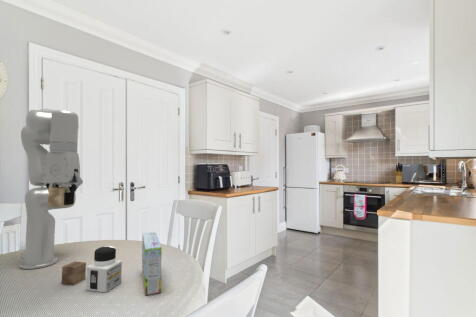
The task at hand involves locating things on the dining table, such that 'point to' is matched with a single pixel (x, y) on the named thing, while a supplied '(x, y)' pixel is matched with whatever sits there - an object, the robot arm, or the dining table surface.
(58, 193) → the oak block
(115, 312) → the dining table surface
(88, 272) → the container
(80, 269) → the walnut block
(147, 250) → the snack box
